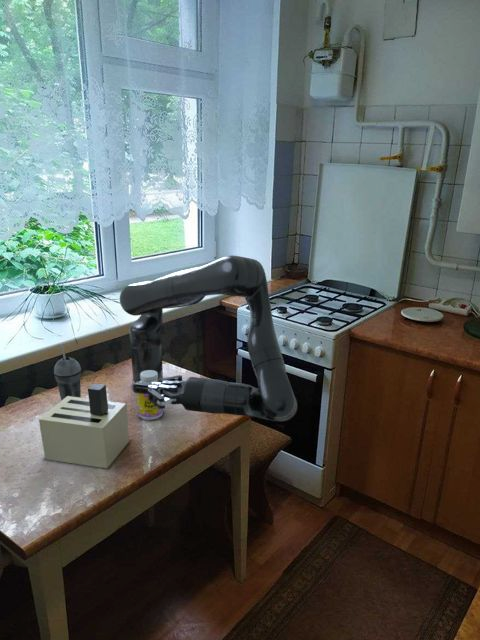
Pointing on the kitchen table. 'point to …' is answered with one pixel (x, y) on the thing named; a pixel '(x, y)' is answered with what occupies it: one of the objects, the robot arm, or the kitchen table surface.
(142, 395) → the supplement bottle
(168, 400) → the robot arm
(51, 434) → the toaster
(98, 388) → the slider
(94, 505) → the kitchen table surface
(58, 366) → the beverage cup
